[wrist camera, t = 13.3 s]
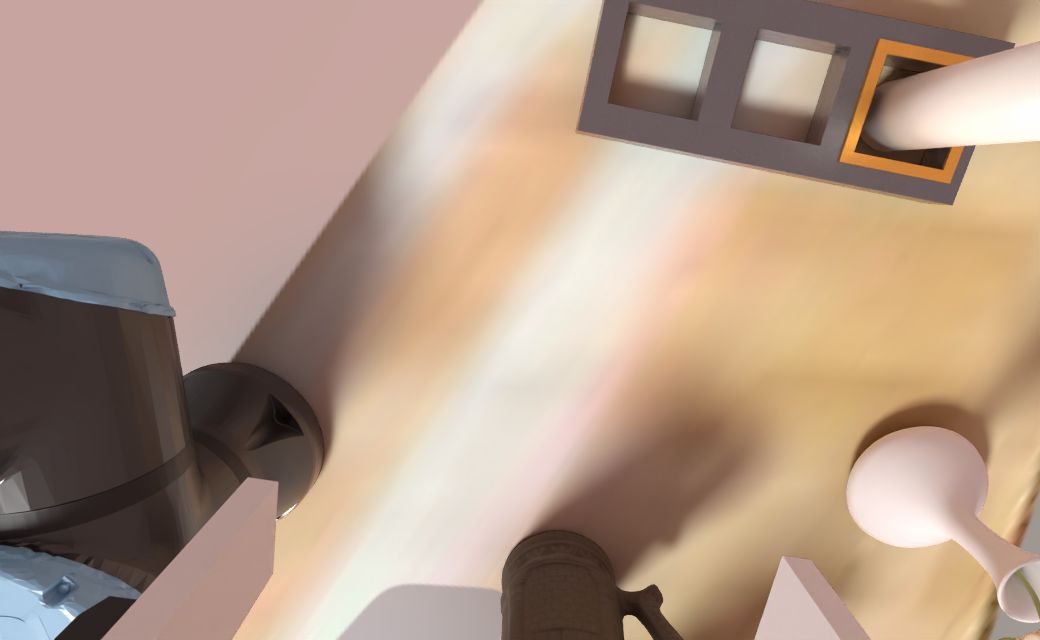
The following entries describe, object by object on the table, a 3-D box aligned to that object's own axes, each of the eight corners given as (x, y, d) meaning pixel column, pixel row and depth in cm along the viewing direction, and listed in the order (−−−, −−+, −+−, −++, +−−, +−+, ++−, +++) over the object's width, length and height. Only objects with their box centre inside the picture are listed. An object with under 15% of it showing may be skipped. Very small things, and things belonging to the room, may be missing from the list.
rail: (575, 133, 42) (577, 130, 40) (608, -27, 39) (613, -41, 37) (928, 203, 43) (954, 205, 40) (986, 51, 40) (1017, 42, 37)
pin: (848, 144, 42) (1013, 127, 27) (871, 74, 40) (1057, 17, 26) (911, 157, 42) (1110, 147, 27) (937, 88, 41) (1159, 38, 26)
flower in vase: (927, 392, 47) (1347, 626, 22) (993, 485, 49) (1444, 793, 24) (795, 478, 49) (1044, 773, 25) (863, 564, 51) (1155, 914, 27)
